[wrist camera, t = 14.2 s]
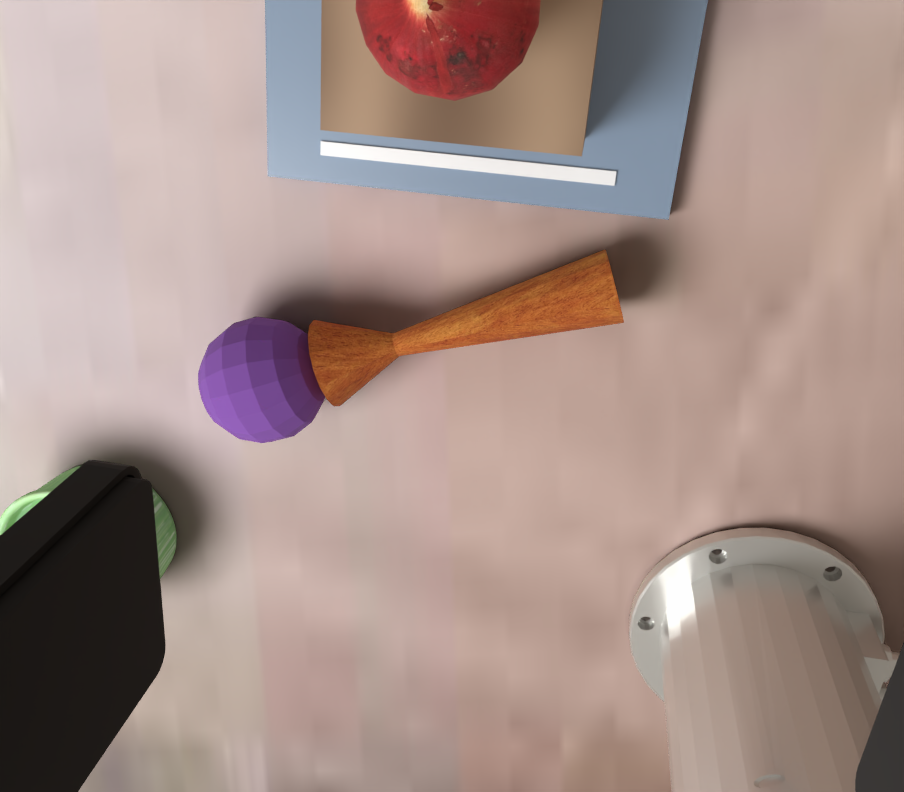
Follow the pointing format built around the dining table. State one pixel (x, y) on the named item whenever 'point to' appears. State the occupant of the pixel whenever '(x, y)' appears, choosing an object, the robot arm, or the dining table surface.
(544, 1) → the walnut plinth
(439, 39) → the onion
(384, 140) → the blueprint mat
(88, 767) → the robot arm
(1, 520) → the ramekin
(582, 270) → the maraca
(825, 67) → the dining table surface
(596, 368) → the dining table surface
